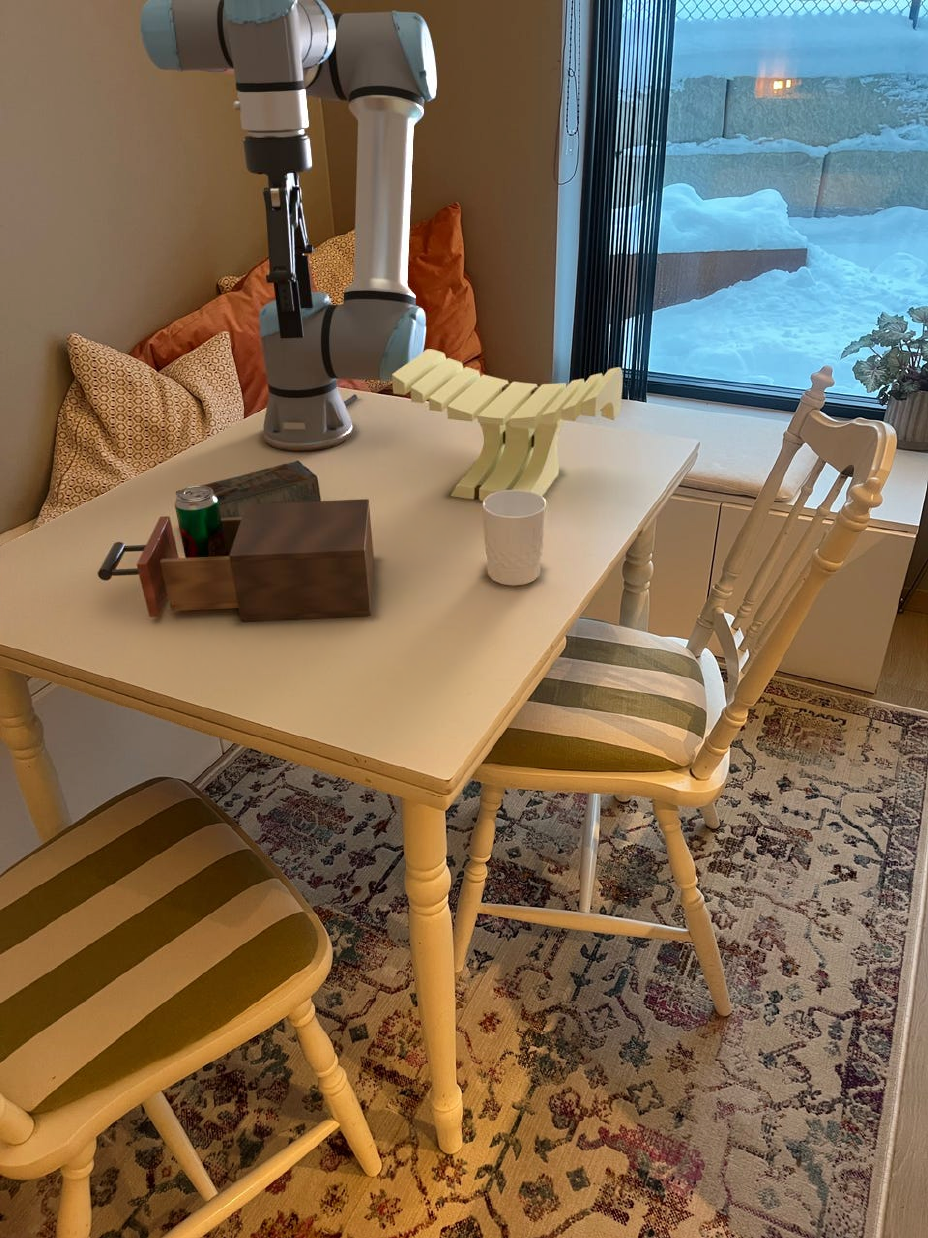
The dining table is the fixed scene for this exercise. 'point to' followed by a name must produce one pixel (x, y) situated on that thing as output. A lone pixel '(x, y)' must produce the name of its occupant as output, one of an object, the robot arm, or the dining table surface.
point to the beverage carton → (266, 488)
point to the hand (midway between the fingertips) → (297, 322)
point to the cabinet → (303, 560)
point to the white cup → (514, 535)
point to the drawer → (178, 572)
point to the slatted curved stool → (507, 418)
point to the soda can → (200, 522)
